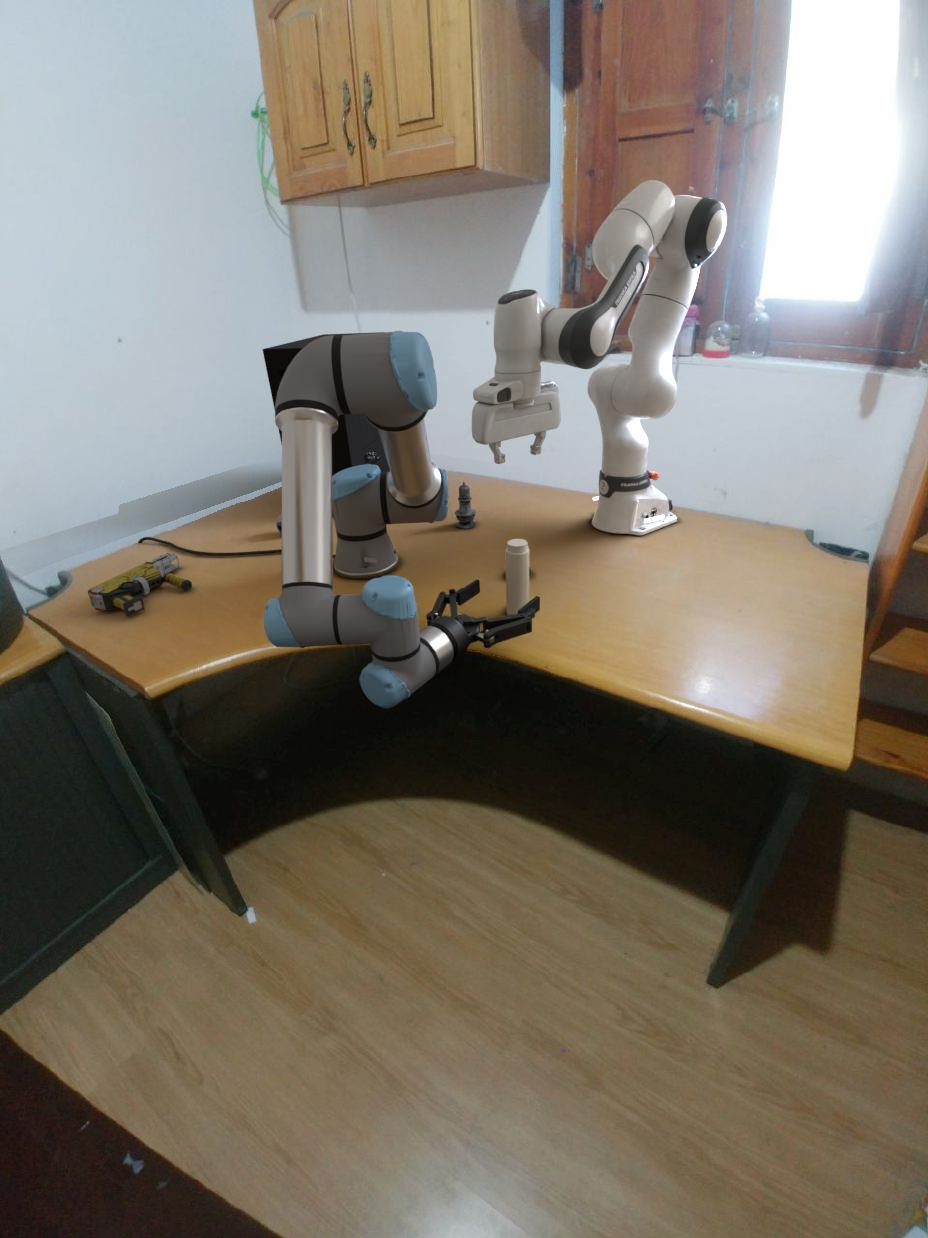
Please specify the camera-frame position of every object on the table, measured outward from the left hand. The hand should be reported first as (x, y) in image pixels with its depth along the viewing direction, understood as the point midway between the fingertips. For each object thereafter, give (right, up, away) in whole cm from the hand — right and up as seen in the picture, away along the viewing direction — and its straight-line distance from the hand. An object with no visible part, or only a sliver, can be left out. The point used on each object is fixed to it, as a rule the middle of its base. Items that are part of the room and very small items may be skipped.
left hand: (507, 593), depth 115 cm
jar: (+3, -3, +6) cm, 7 cm away
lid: (+4, +6, +20) cm, 21 cm away
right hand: (+3, +28, +7) cm, 29 cm away
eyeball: (-56, +18, +50) cm, 77 cm away
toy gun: (-79, +1, +22) cm, 82 cm away
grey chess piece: (-8, +21, +49) cm, 54 cm away
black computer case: (-44, +35, +77) cm, 96 cm away
